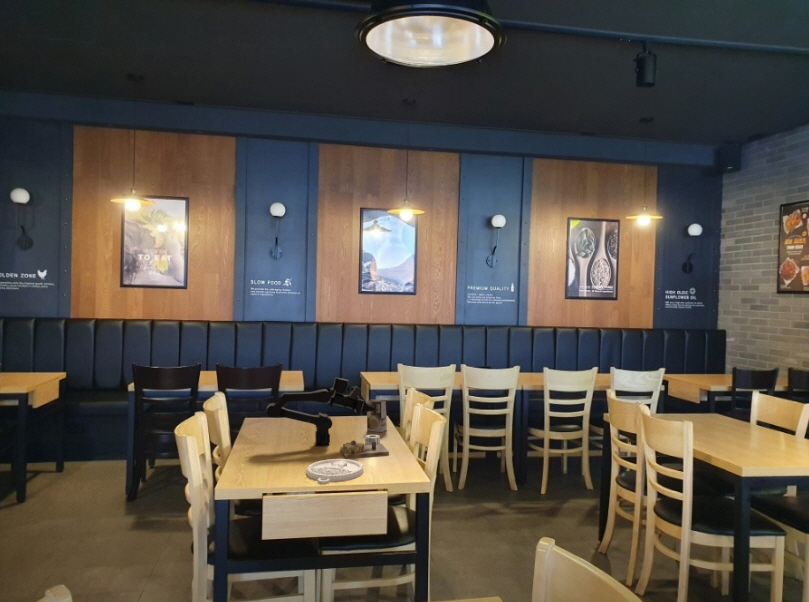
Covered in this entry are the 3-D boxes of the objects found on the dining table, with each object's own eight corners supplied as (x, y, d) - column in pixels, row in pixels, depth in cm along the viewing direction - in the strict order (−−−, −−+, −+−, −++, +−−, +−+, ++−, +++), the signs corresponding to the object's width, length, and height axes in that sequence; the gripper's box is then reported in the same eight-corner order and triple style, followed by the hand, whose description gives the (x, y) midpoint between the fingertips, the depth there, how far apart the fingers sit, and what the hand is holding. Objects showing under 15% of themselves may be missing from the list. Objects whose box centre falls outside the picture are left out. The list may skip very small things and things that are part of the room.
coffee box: (387, 429, 307) (387, 400, 307) (381, 432, 302) (381, 402, 301) (372, 428, 311) (372, 398, 311) (366, 430, 305) (366, 400, 305)
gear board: (345, 458, 254) (345, 446, 254) (340, 450, 268) (340, 438, 268) (388, 454, 260) (388, 442, 260) (381, 446, 273) (381, 435, 273)
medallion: (370, 465, 244) (370, 460, 244) (350, 486, 218) (350, 480, 218) (319, 462, 250) (319, 457, 250) (293, 482, 223) (293, 476, 223)
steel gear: (366, 446, 275) (366, 438, 275) (363, 442, 282) (363, 435, 282) (381, 445, 277) (381, 437, 277) (378, 441, 284) (378, 434, 284)
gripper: (350, 386, 272) (381, 394, 276) (345, 382, 290) (374, 390, 294) (343, 409, 271) (374, 417, 275) (339, 404, 289) (368, 411, 293)
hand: (373, 408), depth 284 cm, fingers open, 9 cm apart
